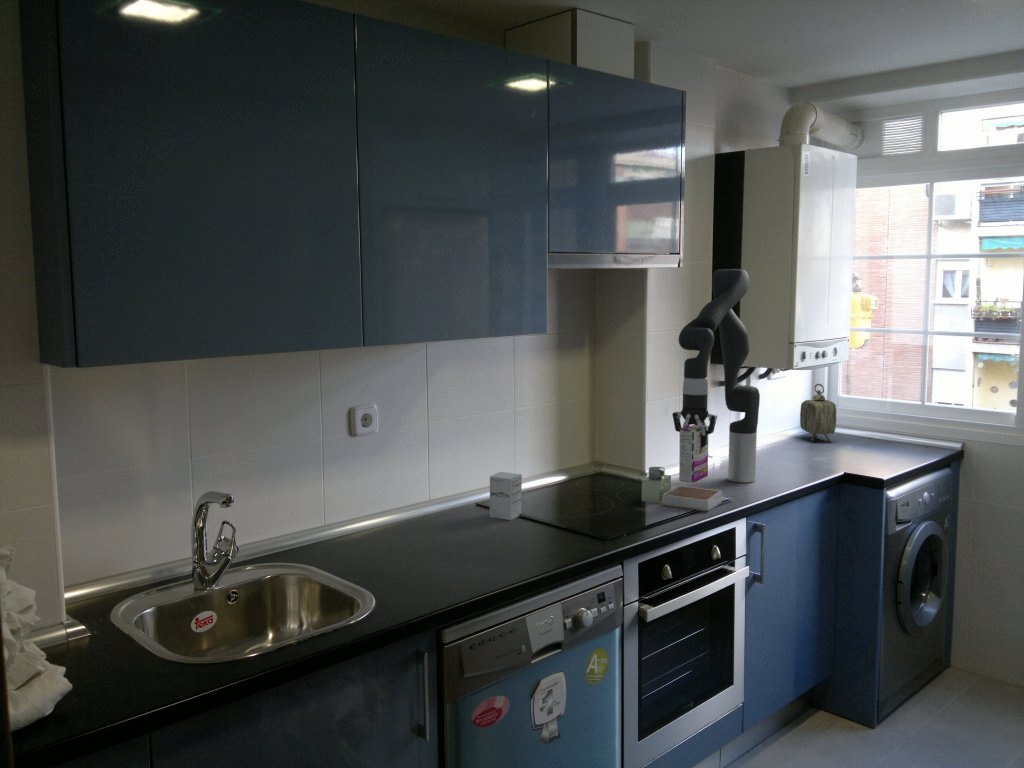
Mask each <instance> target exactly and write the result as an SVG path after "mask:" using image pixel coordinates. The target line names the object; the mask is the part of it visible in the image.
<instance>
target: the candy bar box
mask: <svg viewBox="0 0 1024 768" xmlns="http://www.w3.org/2000/svg"><path fill="white" fill-rule="evenodd" d="M708 427H709V425H707V424H706V428H707V430H708ZM701 436H702V433H701V431H700V429H699V427H698V425H694V424H692V425H690V426H689V427H686V428H683V429H680V432H679V472H678V474H679V475H678V477H679V479H678V480H679V481H680V482H685V483H691V484H692V483H696V482H698V481H700V480H702V479H704V478H707V477H708V476H709V434H708V435H707V445H706V446H705V447H704V448H703V447H701Z"/></svg>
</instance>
